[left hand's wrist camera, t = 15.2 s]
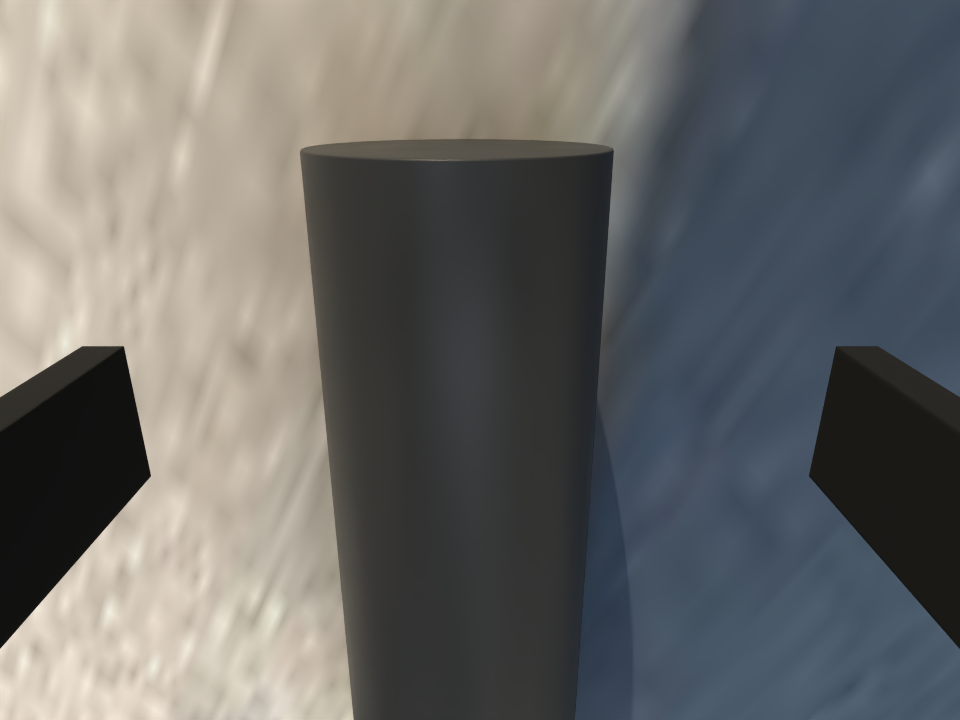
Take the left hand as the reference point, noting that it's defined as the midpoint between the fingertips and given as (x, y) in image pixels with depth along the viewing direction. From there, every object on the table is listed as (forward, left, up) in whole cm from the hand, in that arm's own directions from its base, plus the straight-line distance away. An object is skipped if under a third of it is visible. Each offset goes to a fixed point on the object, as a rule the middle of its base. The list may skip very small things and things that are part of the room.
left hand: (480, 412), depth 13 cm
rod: (+8, +4, -12) cm, 15 cm away
